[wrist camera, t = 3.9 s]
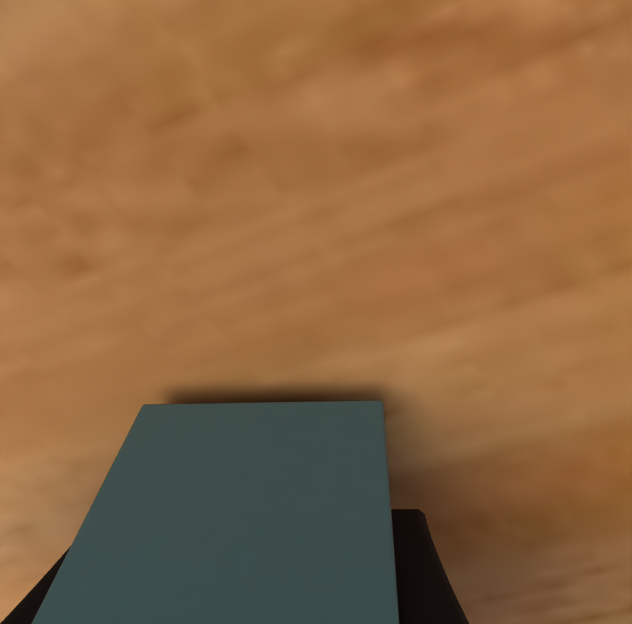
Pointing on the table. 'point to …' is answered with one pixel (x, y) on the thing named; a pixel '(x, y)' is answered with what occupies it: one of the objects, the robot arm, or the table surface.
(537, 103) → the table surface
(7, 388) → the table surface
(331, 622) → the block
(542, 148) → the table surface
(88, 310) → the table surface
